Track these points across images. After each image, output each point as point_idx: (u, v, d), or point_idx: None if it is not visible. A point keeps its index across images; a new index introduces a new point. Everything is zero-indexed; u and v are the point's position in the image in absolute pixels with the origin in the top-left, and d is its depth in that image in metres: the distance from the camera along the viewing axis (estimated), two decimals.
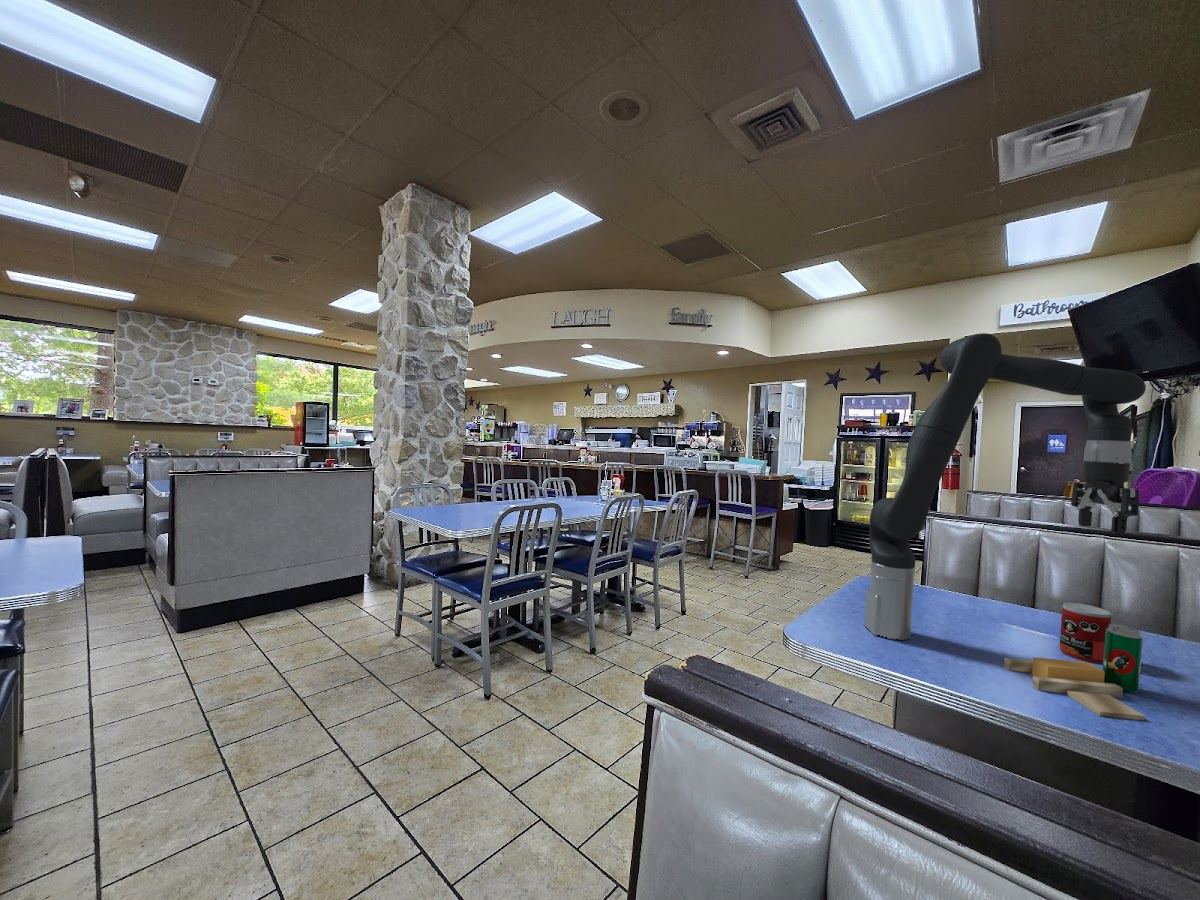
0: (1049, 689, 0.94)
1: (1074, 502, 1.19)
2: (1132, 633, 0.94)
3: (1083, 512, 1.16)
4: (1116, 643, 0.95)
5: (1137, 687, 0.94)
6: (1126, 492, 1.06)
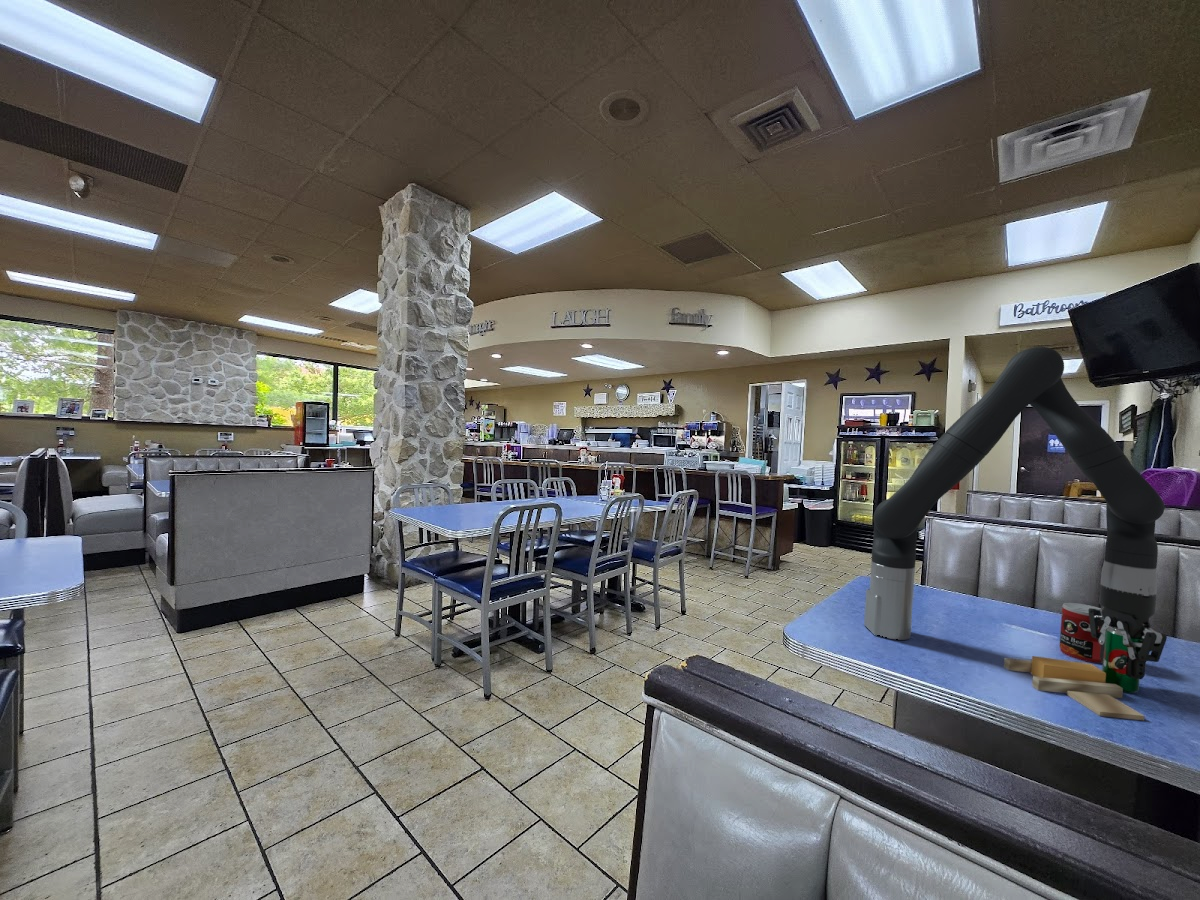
0: (1049, 689, 0.94)
1: (1095, 633, 1.01)
2: None
3: None
4: (1116, 643, 0.95)
5: (1137, 687, 0.94)
6: (1151, 638, 0.90)
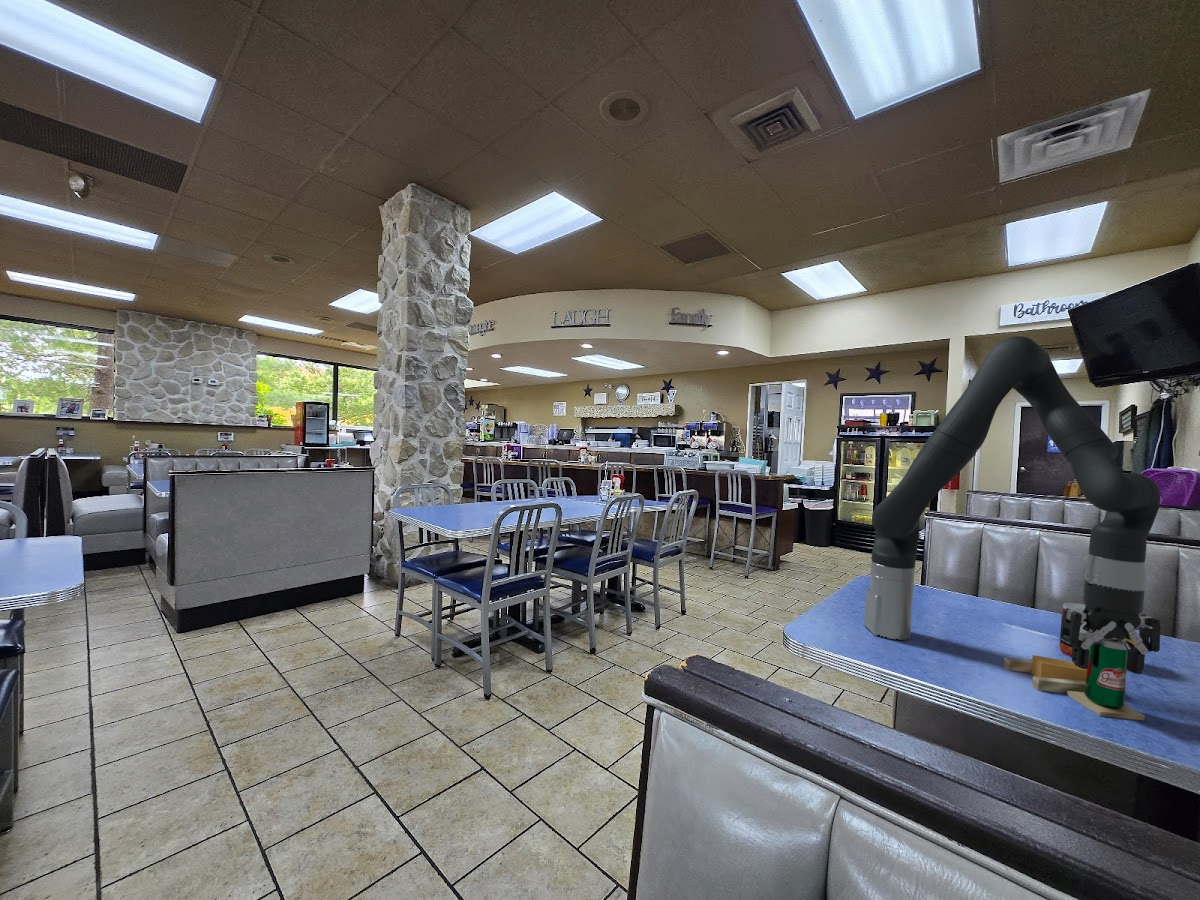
0: (1049, 689, 0.94)
1: None
2: None
3: None
4: None
5: (1096, 697, 0.88)
6: None
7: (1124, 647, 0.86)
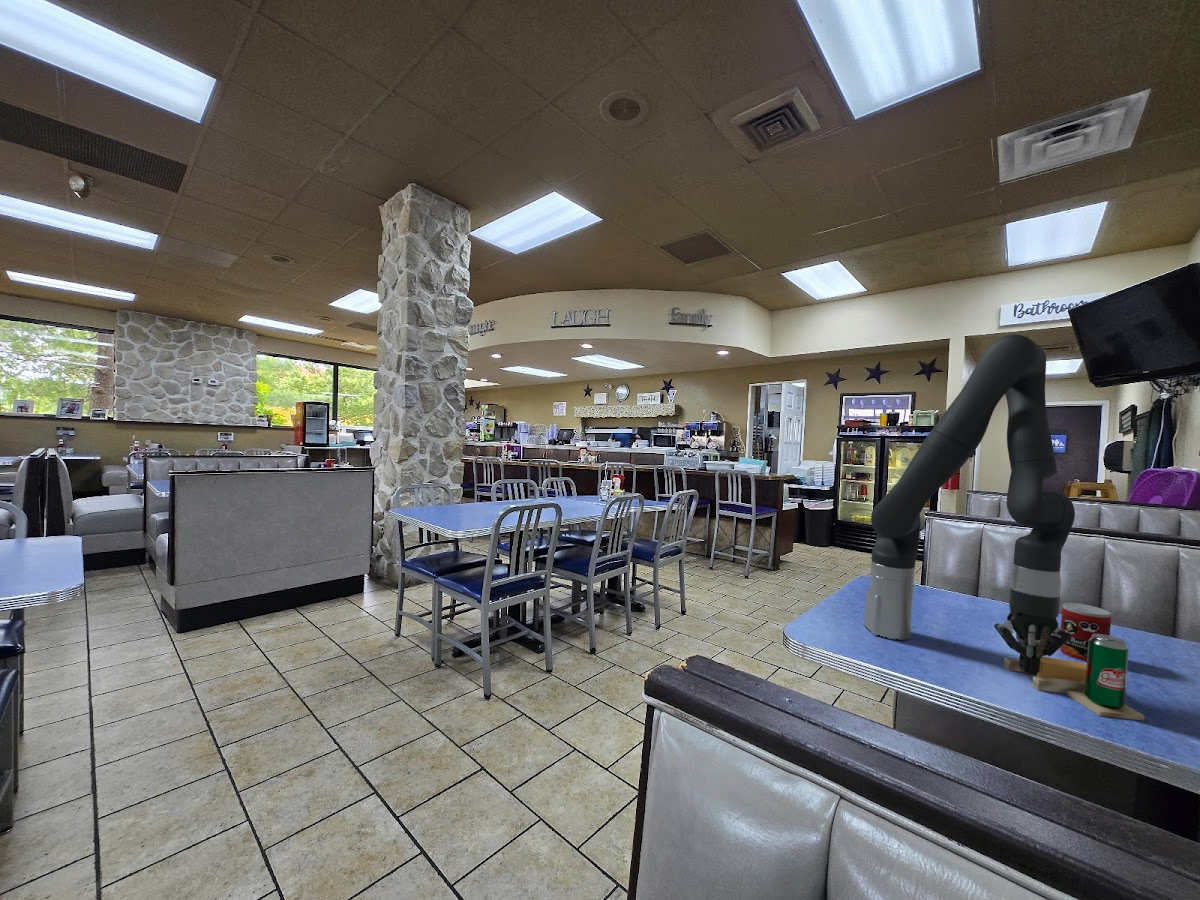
0: (1049, 689, 0.94)
1: None
2: (1094, 637, 0.89)
3: None
4: None
5: (1096, 697, 0.88)
6: None
7: (1124, 647, 0.86)
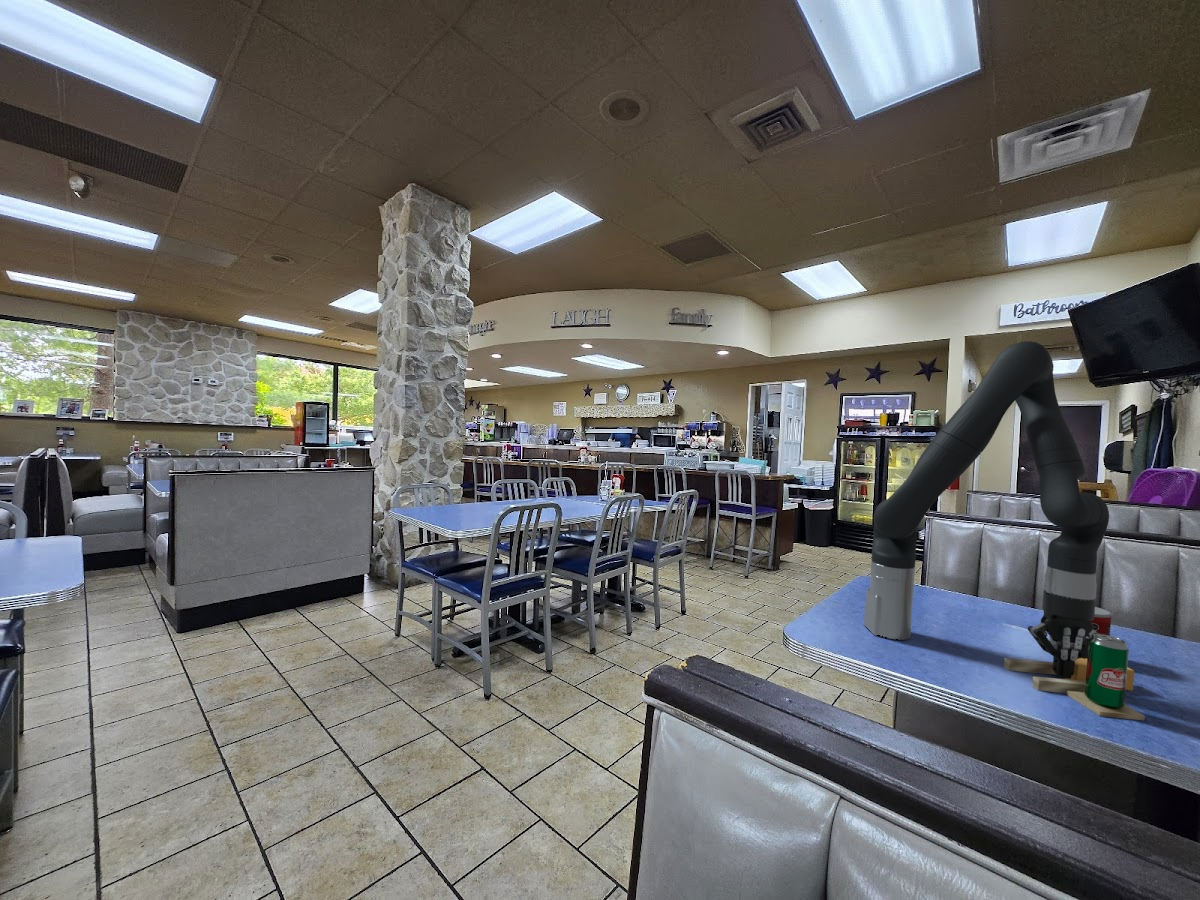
0: (1049, 689, 0.94)
1: None
2: (1094, 637, 0.89)
3: None
4: None
5: (1096, 697, 0.88)
6: None
7: (1124, 647, 0.86)
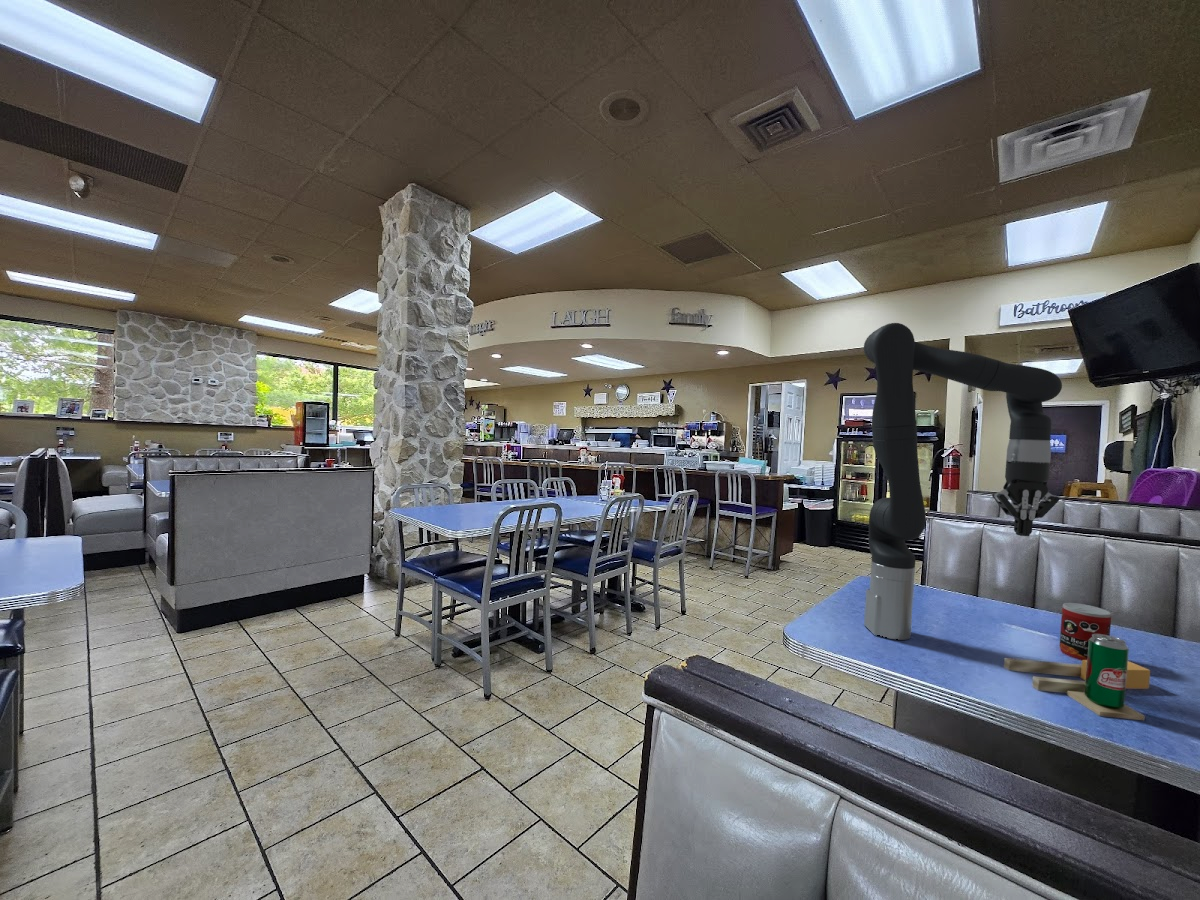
0: (1049, 689, 0.94)
1: None
2: (1094, 637, 0.89)
3: None
4: None
5: (1096, 697, 0.88)
6: None
7: (1124, 647, 0.86)
